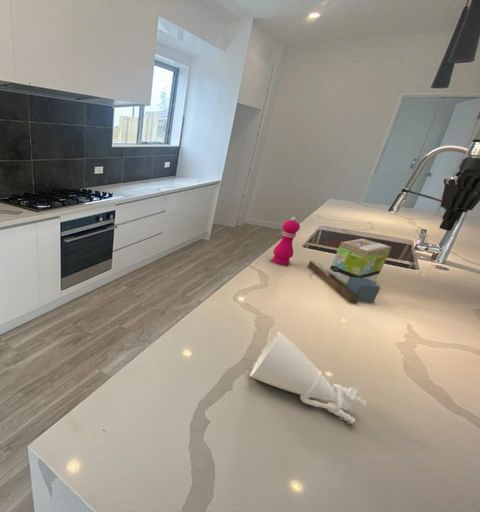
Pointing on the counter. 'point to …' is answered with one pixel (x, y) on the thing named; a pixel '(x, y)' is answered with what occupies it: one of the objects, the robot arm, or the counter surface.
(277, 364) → the rocket engine
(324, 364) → the counter surface
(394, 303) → the counter surface
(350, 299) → the brown wooden stick
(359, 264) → the tea box
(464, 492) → the counter surface
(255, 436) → the counter surface
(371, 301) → the blue block
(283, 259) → the pepper mill
